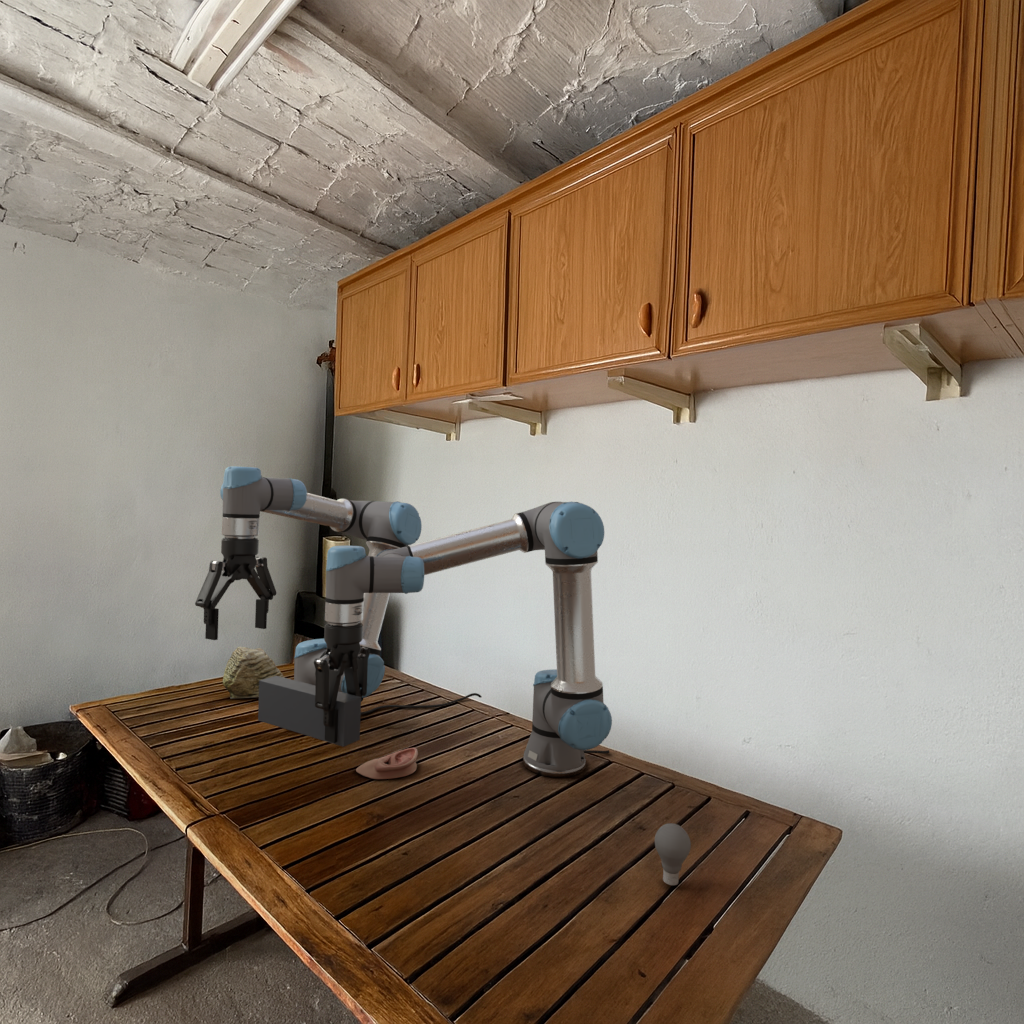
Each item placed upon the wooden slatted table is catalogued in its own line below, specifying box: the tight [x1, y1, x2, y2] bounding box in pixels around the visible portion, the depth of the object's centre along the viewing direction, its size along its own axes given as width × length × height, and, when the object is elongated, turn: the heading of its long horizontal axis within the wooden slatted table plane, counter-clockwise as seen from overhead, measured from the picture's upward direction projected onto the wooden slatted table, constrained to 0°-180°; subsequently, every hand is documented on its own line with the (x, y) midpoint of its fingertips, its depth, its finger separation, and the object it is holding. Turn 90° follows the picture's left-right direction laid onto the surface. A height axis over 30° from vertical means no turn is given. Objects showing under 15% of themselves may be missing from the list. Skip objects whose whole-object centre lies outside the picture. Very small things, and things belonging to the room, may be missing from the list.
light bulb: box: [654, 822, 692, 886], centre depth 108 cm, size 6×6×10 cm
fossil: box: [222, 646, 286, 699], centre depth 198 cm, size 9×18×15 cm, turn 132°
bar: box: [257, 676, 362, 748], centre depth 133 cm, size 25×5×9 cm, turn 60°
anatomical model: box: [355, 747, 419, 780], centre depth 148 cm, size 13×4×12 cm
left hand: (237, 633), depth 139 cm, fingers open, 13 cm apart
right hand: (340, 736), depth 128 cm, fingers closed on bar, 5 cm apart
